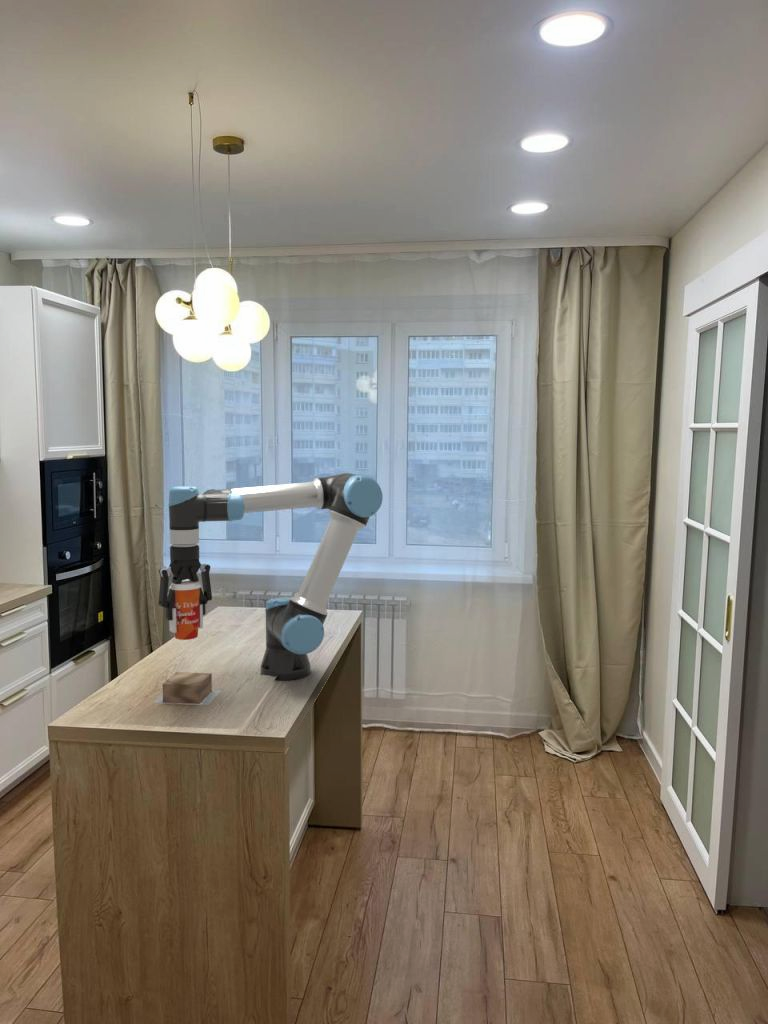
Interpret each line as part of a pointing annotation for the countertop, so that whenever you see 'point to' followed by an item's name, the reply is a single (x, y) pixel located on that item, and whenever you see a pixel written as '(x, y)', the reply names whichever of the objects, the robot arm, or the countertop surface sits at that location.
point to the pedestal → (187, 688)
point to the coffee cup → (187, 609)
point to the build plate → (204, 702)
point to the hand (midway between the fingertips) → (186, 629)
